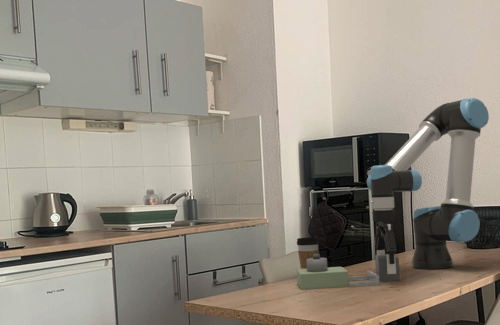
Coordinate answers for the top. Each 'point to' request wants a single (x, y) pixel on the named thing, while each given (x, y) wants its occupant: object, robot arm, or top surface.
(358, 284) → the chute bracket
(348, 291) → the top surface
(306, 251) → the coffee cup
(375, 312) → the top surface
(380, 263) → the grey block
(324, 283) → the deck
